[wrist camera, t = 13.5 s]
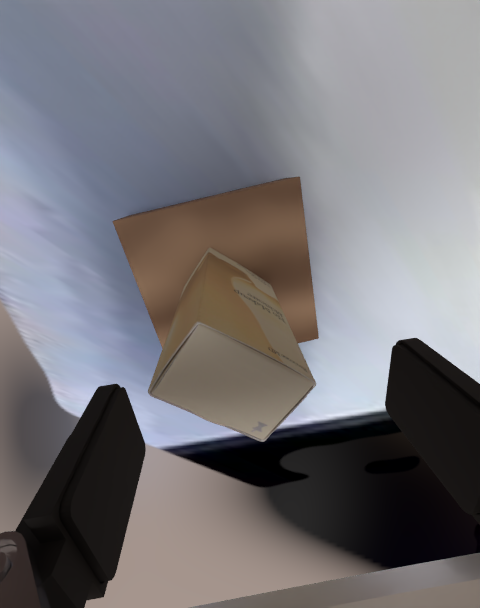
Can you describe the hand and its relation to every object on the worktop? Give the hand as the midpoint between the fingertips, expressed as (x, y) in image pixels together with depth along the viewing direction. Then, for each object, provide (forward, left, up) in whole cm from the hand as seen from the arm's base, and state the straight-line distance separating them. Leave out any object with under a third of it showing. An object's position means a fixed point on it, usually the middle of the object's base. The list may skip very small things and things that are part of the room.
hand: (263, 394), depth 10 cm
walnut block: (+1, -1, -19) cm, 19 cm away
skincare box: (+1, -1, -14) cm, 14 cm away
